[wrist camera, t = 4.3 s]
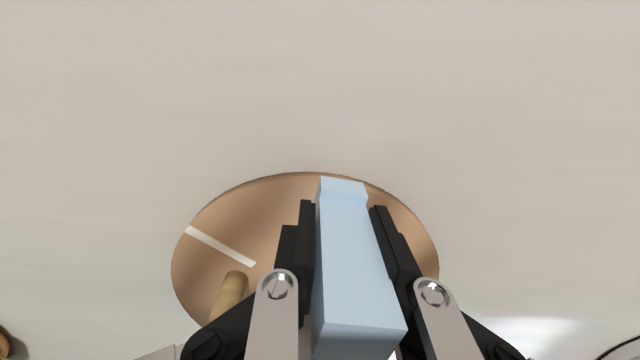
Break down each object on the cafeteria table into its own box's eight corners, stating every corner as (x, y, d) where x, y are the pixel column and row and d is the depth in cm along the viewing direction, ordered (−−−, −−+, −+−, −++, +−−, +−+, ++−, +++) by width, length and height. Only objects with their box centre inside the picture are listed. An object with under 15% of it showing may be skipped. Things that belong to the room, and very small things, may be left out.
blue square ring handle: (336, 323, 19) (348, 462, 13) (264, 316, 19) (238, 460, 12) (393, 187, 13) (475, 325, 6) (287, 169, 12) (257, 304, 6)
